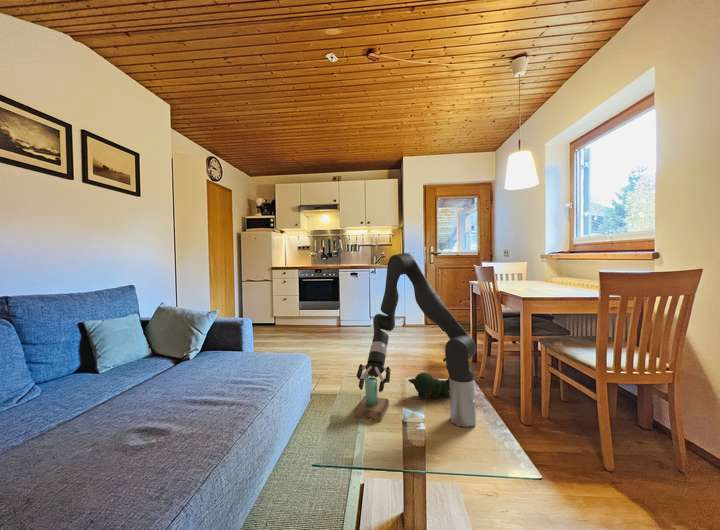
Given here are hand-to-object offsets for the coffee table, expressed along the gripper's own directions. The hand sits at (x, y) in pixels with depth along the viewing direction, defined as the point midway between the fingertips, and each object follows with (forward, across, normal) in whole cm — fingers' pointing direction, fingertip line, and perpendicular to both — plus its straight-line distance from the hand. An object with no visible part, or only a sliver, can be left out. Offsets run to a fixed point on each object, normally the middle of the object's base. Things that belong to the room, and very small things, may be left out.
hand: (370, 390), depth 129 cm
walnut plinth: (+6, 0, +8) cm, 10 cm away
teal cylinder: (+3, 0, +5) cm, 6 cm away
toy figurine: (-9, +23, +24) cm, 34 cm away
